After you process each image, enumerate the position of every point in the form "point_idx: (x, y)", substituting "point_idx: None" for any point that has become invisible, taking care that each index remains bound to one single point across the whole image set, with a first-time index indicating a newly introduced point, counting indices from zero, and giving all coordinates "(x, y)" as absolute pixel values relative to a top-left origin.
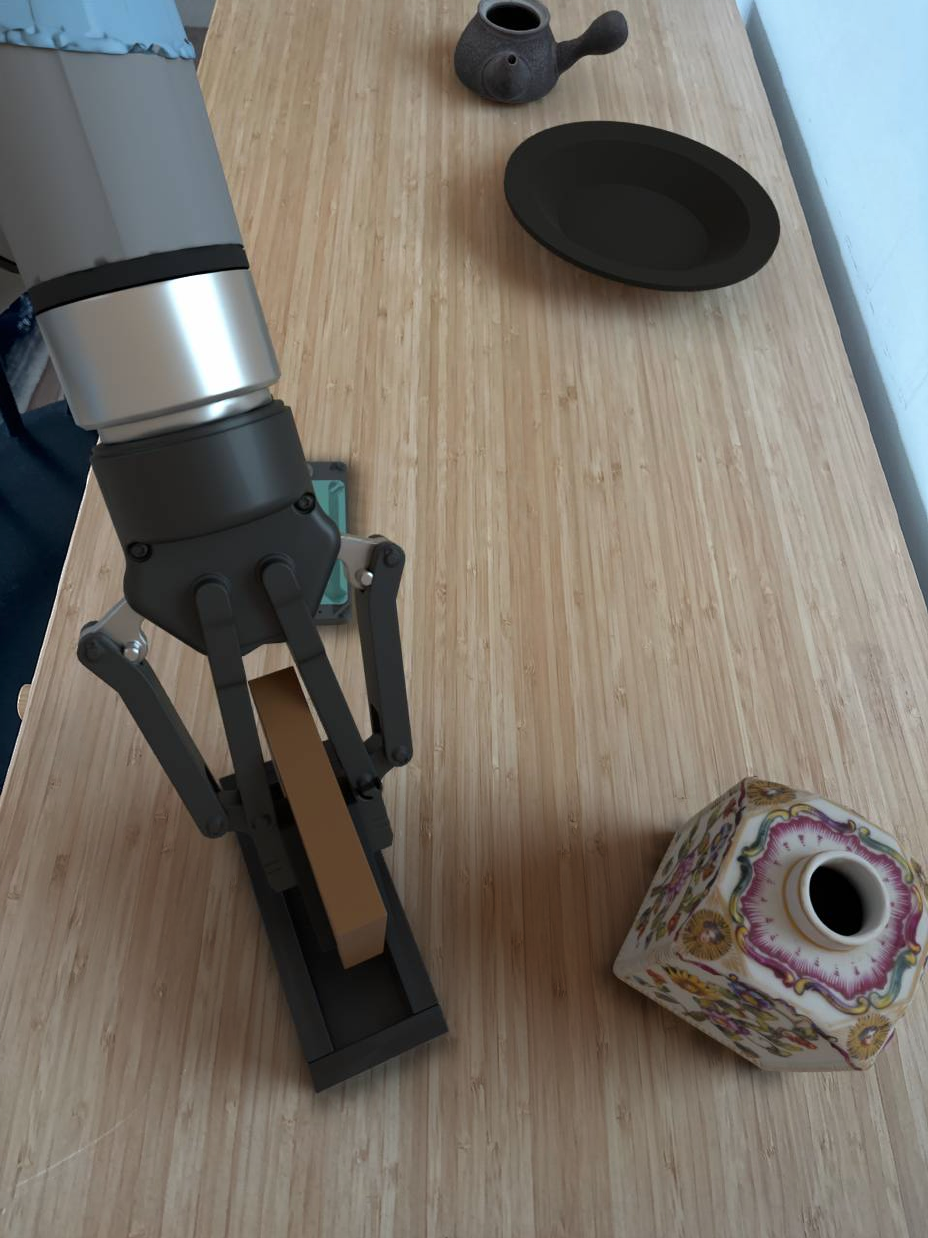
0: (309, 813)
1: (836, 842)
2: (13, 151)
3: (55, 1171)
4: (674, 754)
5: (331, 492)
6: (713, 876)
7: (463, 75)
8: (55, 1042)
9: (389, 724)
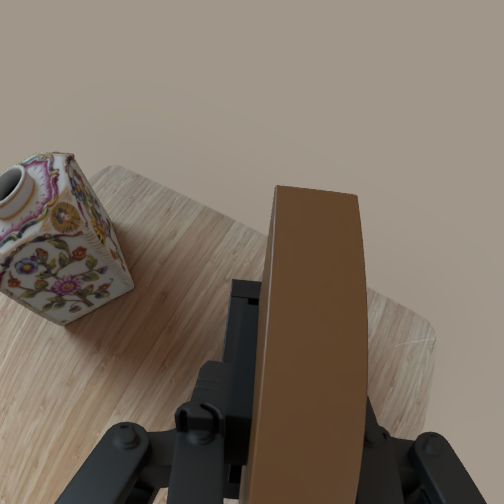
0: (339, 406)
1: None
2: None
3: (422, 337)
4: (40, 360)
5: None
6: (39, 244)
7: None
8: (413, 391)
9: (110, 485)
